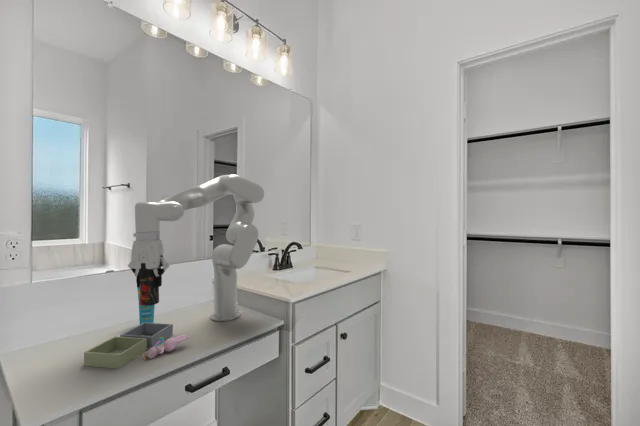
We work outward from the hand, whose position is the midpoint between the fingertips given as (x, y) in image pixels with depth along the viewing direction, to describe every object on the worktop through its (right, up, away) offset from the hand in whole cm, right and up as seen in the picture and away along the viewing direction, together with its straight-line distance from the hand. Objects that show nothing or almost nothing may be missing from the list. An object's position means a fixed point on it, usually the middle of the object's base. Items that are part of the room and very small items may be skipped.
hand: (149, 286), depth 109 cm
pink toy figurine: (+10, -20, -9) cm, 24 cm away
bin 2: (-1, -19, 0) cm, 19 cm away
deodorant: (0, -6, 0) cm, 6 cm away
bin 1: (-3, -20, -13) cm, 24 cm away
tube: (-9, -19, +14) cm, 25 cm away
